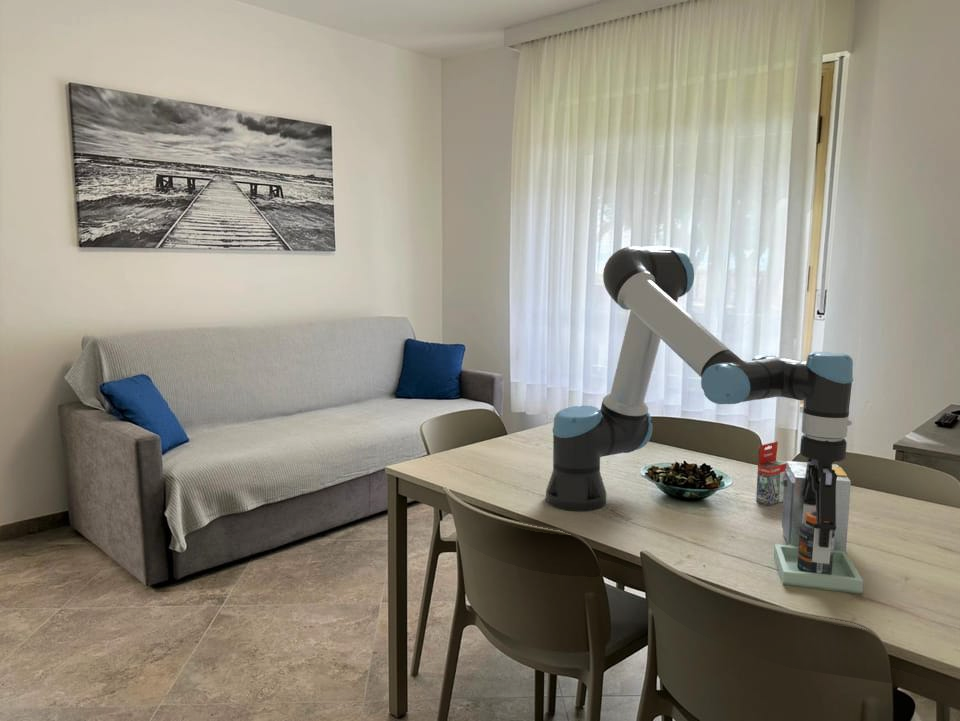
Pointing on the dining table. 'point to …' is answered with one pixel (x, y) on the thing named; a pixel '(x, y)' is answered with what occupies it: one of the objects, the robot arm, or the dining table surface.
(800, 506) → the unit
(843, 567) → the tray
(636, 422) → the robot arm
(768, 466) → the ink box
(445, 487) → the dining table surface
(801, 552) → the pill bottle
